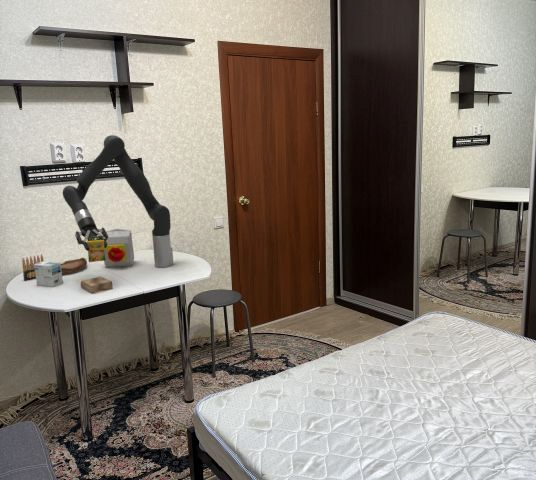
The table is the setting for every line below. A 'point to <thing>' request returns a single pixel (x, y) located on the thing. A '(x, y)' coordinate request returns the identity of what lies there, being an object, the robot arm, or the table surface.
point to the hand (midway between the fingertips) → (97, 248)
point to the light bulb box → (48, 273)
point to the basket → (73, 266)
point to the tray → (96, 284)
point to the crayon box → (96, 249)
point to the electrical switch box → (119, 248)
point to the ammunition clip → (29, 271)
